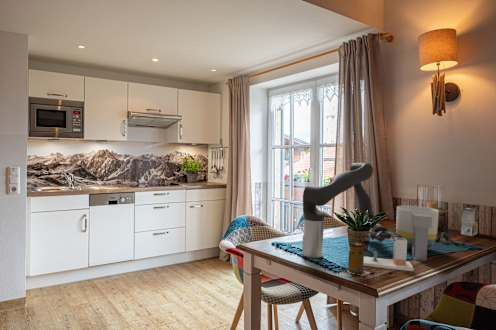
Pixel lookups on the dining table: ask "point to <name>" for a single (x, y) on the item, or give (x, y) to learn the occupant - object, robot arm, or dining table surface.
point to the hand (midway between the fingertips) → (390, 240)
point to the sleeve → (399, 251)
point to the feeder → (420, 235)
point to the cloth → (446, 240)
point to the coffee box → (469, 221)
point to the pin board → (385, 263)
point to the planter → (406, 227)
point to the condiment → (356, 258)
